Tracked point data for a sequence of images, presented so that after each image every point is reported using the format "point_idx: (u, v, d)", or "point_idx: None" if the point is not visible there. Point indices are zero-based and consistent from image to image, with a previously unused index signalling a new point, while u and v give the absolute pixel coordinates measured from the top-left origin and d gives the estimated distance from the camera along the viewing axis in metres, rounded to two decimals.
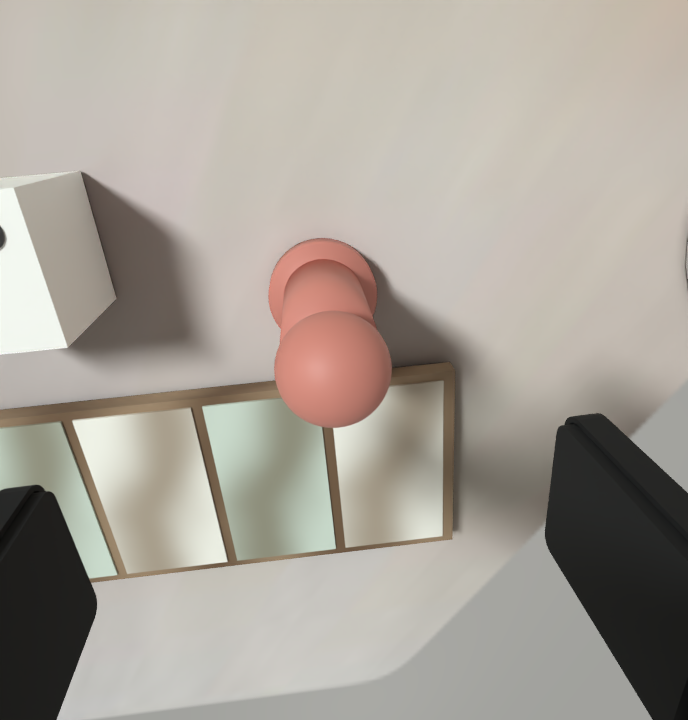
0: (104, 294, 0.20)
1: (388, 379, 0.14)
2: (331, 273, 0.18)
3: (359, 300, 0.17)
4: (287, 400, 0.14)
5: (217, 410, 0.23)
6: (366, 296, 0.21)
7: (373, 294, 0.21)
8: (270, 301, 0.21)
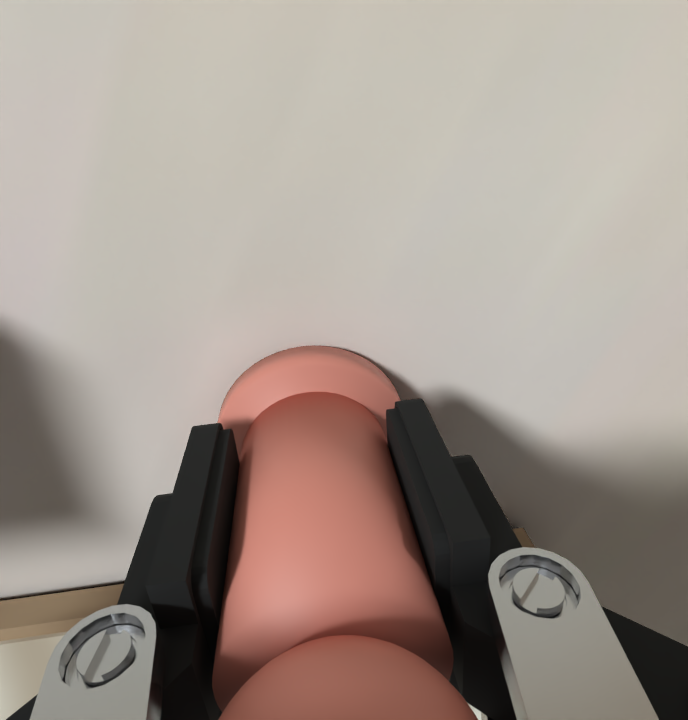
0: None
1: None
2: (332, 447, 0.09)
3: (400, 546, 0.07)
4: None
5: None
6: None
7: None
8: None
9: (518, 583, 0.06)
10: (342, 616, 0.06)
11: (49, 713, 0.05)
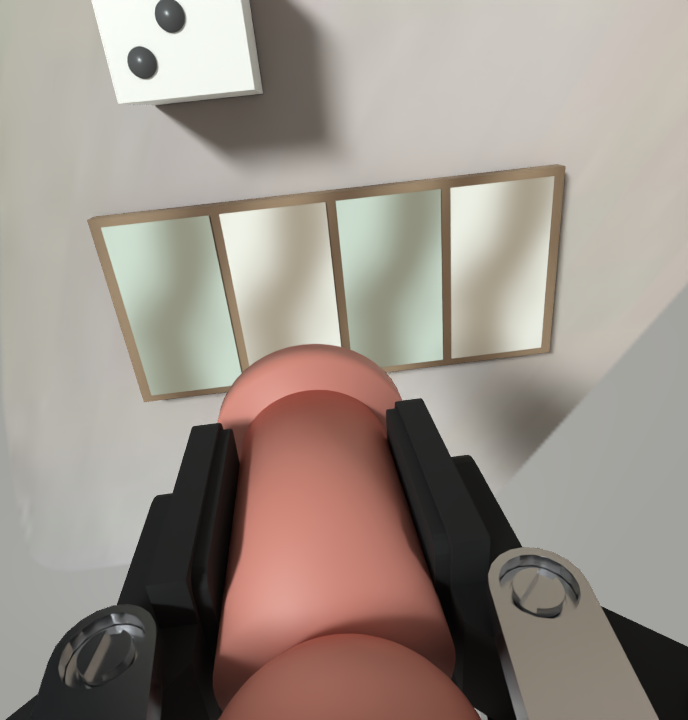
0: (259, 79, 0.22)
1: None
2: (333, 445, 0.09)
3: (402, 544, 0.07)
4: None
5: (348, 206, 0.25)
6: None
7: None
8: None
9: (518, 583, 0.06)
10: (343, 614, 0.06)
11: (49, 713, 0.05)
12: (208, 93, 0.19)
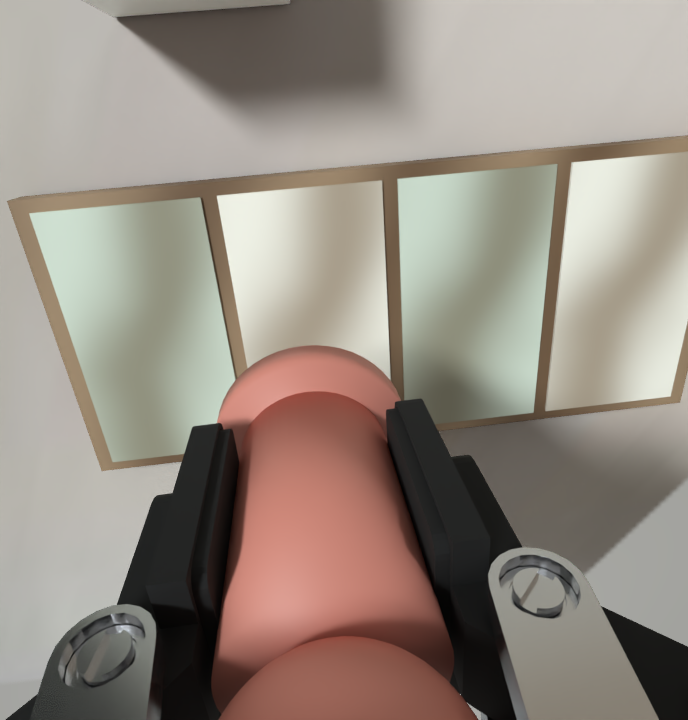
0: None
1: None
2: (332, 447, 0.09)
3: (400, 547, 0.07)
4: None
5: (417, 187, 0.16)
6: None
7: None
8: None
9: (518, 583, 0.06)
10: (342, 617, 0.06)
11: (49, 713, 0.05)
12: None
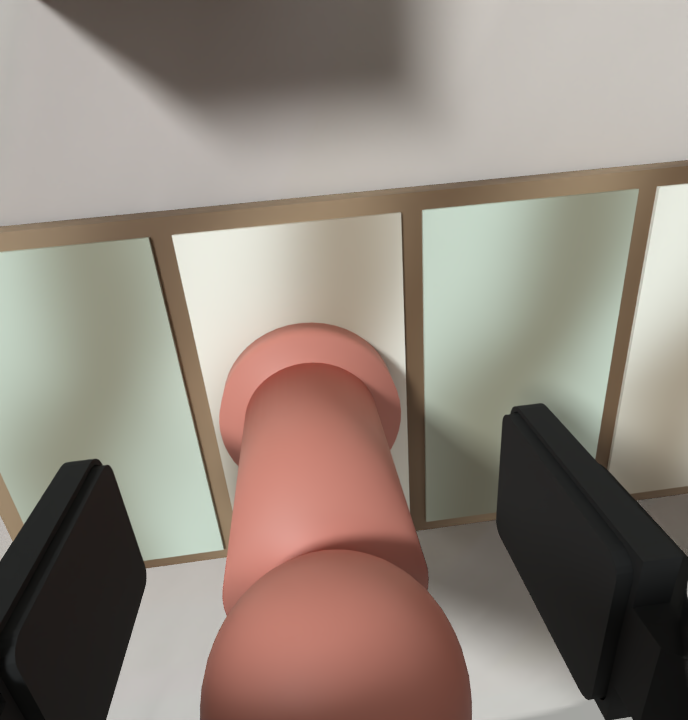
0: None
1: None
2: (326, 406, 0.10)
3: (384, 484, 0.08)
4: None
5: (448, 221, 0.12)
6: (383, 417, 0.13)
7: (394, 413, 0.13)
8: (222, 430, 0.12)
9: None
10: (332, 535, 0.08)
11: None
12: None
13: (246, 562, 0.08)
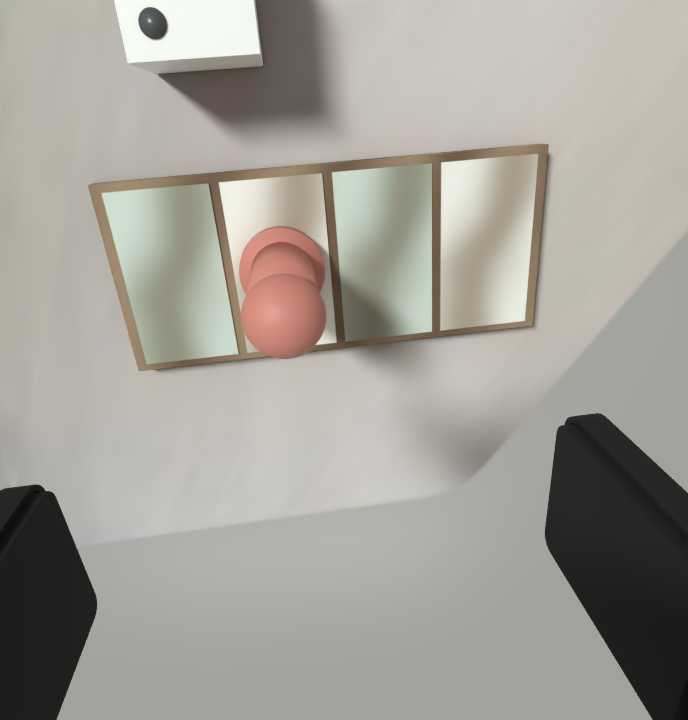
0: None
1: (323, 321, 0.20)
2: (286, 251, 0.24)
3: (305, 269, 0.22)
4: (250, 336, 0.20)
5: (344, 177, 0.26)
6: (316, 271, 0.27)
7: (322, 270, 0.27)
8: (240, 276, 0.26)
9: None
10: None
11: None
12: (215, 56, 0.20)
13: None
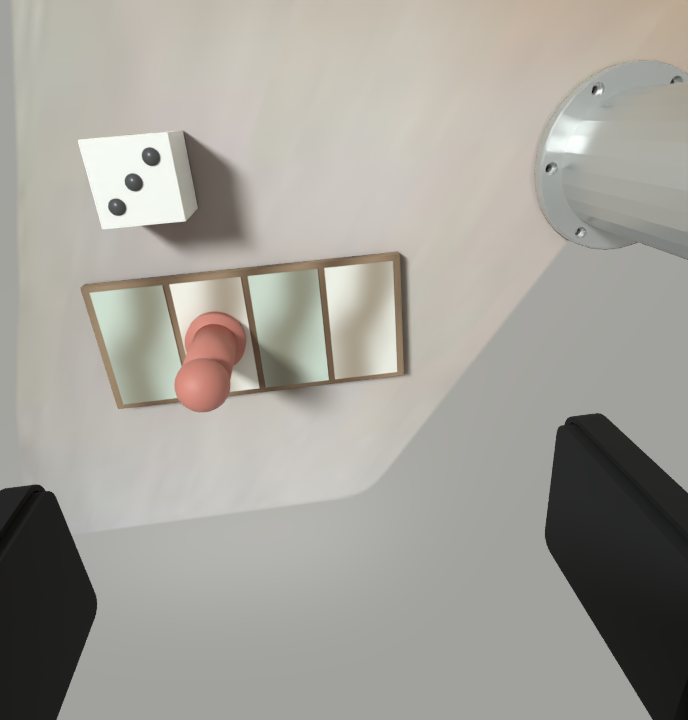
0: (194, 202, 0.35)
1: (225, 389, 0.32)
2: (212, 334, 0.36)
3: (221, 350, 0.34)
4: (179, 399, 0.32)
5: (256, 279, 0.38)
6: (239, 342, 0.38)
7: (243, 341, 0.38)
8: (185, 346, 0.38)
9: None
10: (205, 358, 0.33)
11: None
12: (157, 223, 0.31)
13: (185, 364, 0.33)
